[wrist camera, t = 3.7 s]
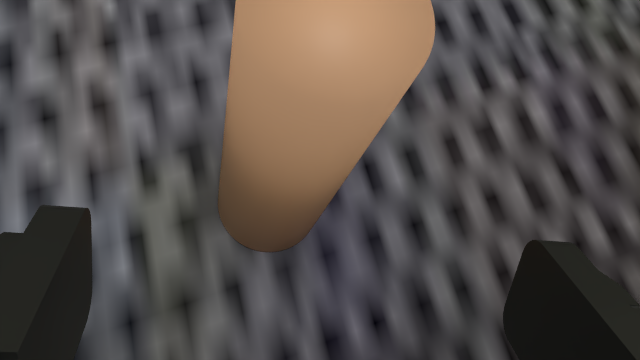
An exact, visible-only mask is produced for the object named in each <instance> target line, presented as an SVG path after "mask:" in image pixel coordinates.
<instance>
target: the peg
mask: <svg viewBox="0 0 640 360" xmlns="http://www.w3.org/2000/svg"><path fill="white" fill-rule="evenodd" d="M434 36H435V19H434V12H433V8H432V4H431V1H430V0H236V6H235V17H234V28H233V39H232V50H231V61H230V72H229V83H228V94H227V105H226V117H225V128H224V139H223V150H222V161H221V172H220V183H219V194H218V210H219V215H220V218H221V221H222V223H223V225H224V227H225V228H226V230H227V231H228V233H229V234H230V235H231V236H232V237H233V238H234V239H235V240H236V241H238V242H239V243H240V244H242V245H244V246H246V247H248V248H250V249H253V250H256V251H261V252H277V251H282V250H285V249H288V248H290V247H292V246H294V245H296V244H297V243H299V242H300V241H301V240H302V239H303V238H304V237H305V236H306V235H307V234H308V233H309V231H310V230H311V229H312V227H313V226H314V224H315V223H316V221H317V220H318V218H319V217H320V216H321V214H322V213H323V211H324V210H325V208H326V207H327V205H328V204H329V203H330V201H331V200H332V198H333V197H334V195H335V194H336V192H337V191H338V189H339V188H340V187H341V185H342V184H343V182H344V181H345V179H346V178H347V176H348V175H349V174H350V172H351V171H352V169H353V168H354V166H355V165H356V163H357V162H358V160H359V159H360V158H361V156H362V155H363V153H364V152H365V150H366V149H367V147H368V146H369V145H370V143H371V142H372V140H373V139H374V137H375V136H376V134H377V133H378V132H379V130H380V129H381V127H382V126H383V124H384V123H385V121H386V120H387V118H388V117H389V116H390V114H391V113H392V111H393V110H394V108H395V107H396V105H397V104H398V103H399V101H400V100H401V98H402V97H403V95H404V94H405V92H406V91H407V89H408V88H409V87H410V85H411V84H412V82H413V81H414V79H415V78H416V76H417V75H418V74H419V72H420V71H421V69H422V68H423V66H424V65H425V63H426V61H427V59H428V57H429V55H430V52H431V49H432V46H433V41H434Z"/></svg>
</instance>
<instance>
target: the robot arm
mask: <svg viewBox="0 0 640 360" xmlns="http://www.w3.org/2000/svg"><path fill="white" fill-rule="evenodd" d="M91 297H92V240H91V215H90V211H89V209H88V208H78V207H64V206H50V205H41V206H40V207H39V209H38V210H37V212H36V213H35V215H34V217H33V218H32V220H31V222H30V223H29V225H28V226H27V228H26V230H25V231H24V233H11V232H3V233H2V234H0V360H73V359H74V356H75V353H76V351H77V348H78V345H79V342H80V339H81V336H82V333H83V331H84V328H85V325H86V322H87V319H88V315H89V310H90V304H91ZM503 324H504V330H505V334H506V337H507V339H508V341H509V342H510V344H511V346H512V348H513V349H514V351H515V353H516V355H517V356H518V358H519V360H640V308H639V304H638V303H637V302H636V301H635V300H634V299H633V298H632V297H631V295H630V294H629V293H628V292H627V291H626V290H625V289H624V288H623V287H622V286H621V285H619V284H618V283H616V282H615V281H613V280H612V279H610V278H609V277H607V276H606V275H604V274H603V273H601V272H600V271H599V270H598V269H597V268H596V267H595V266H594V265H593V264H592V263H591V262H590V261H589V260H588V258H587V257H586V256H585V255H584V254H583V253H582V252H581V251H580V250H579V248H578V247H577V246H576V245H574V244H573V243H570V242H557V241H542V240H532V241H530V242H529V243H528V244H527V245H526V246H525V248H524V250H523V253H522V256H521V259H520V262H519V265H518V268H517V271H516V274H515V277H514V279H513V282H512V285H511V288H510V291H509V294H508V297H507V300H506V303H505V307H504V312H503Z"/></svg>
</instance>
